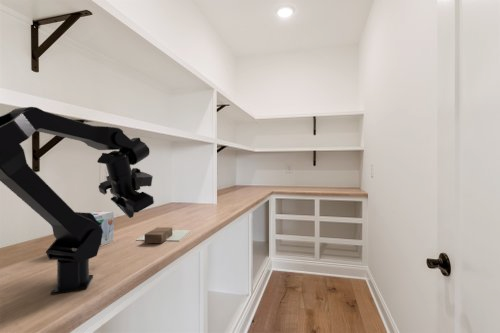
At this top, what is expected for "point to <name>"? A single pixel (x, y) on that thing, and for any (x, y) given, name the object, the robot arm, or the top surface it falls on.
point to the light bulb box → (105, 225)
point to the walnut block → (158, 235)
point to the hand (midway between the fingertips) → (131, 216)
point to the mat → (176, 235)
